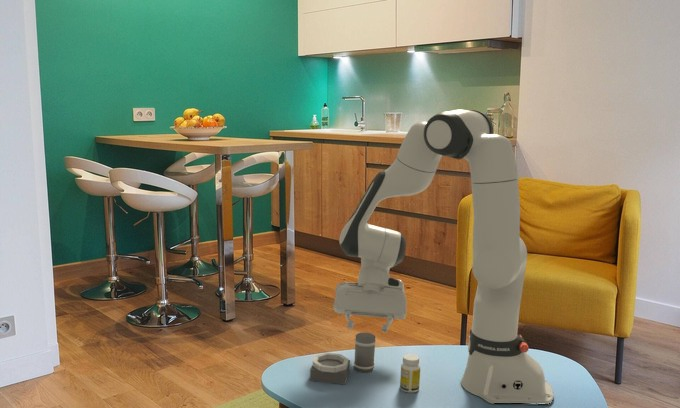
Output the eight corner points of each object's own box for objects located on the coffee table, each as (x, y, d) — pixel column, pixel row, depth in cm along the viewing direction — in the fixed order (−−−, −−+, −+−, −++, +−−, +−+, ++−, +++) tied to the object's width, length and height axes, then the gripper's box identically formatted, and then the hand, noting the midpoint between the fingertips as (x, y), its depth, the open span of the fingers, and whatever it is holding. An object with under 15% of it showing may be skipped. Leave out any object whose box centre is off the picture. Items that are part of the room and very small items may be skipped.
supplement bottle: (418, 385, 159) (420, 353, 158) (419, 394, 154) (421, 361, 153) (399, 383, 159) (401, 352, 158) (399, 392, 155) (401, 360, 153)
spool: (375, 365, 170) (376, 333, 168) (372, 373, 164) (374, 341, 163) (355, 363, 170) (356, 331, 169) (352, 371, 165) (354, 339, 164)
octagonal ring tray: (349, 370, 166) (350, 355, 165) (344, 385, 157) (345, 369, 157) (316, 366, 167) (316, 351, 167) (309, 381, 159) (310, 365, 158)
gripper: (336, 276, 177) (328, 321, 169) (408, 282, 174) (404, 328, 166) (337, 286, 182) (330, 330, 175) (408, 293, 179) (404, 338, 172)
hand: (367, 329), depth 170 cm, fingers open, 8 cm apart
